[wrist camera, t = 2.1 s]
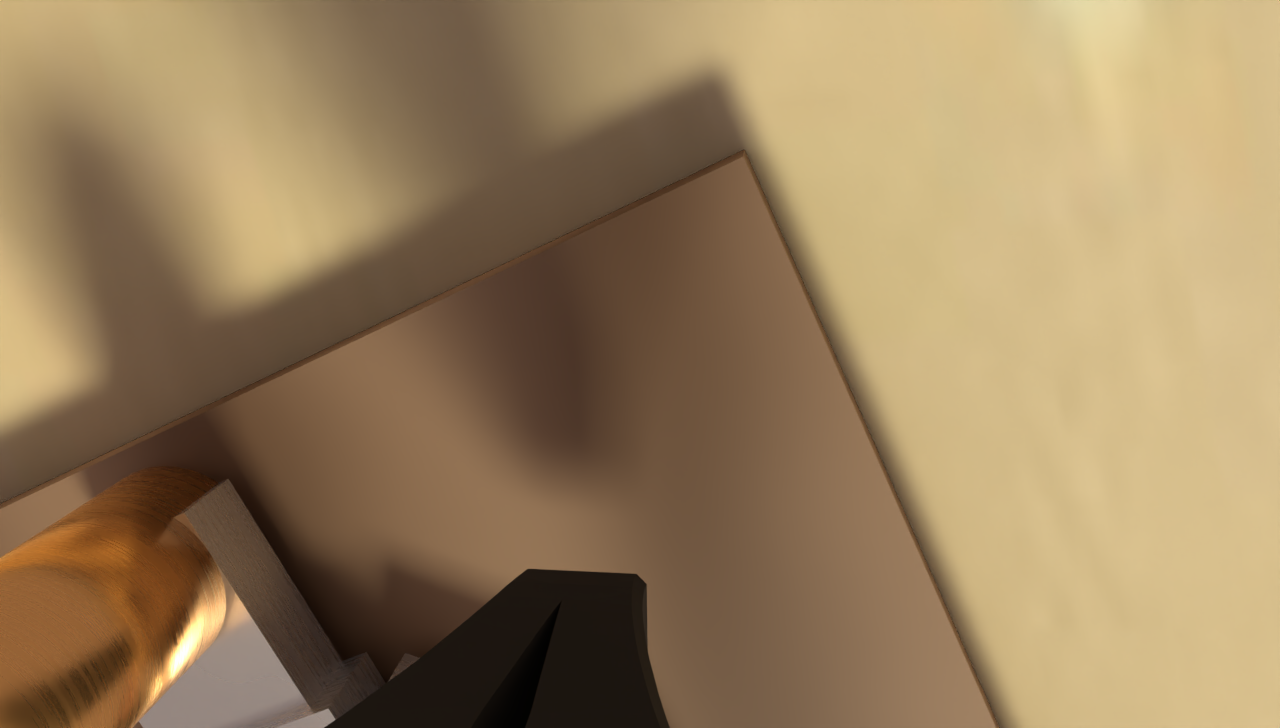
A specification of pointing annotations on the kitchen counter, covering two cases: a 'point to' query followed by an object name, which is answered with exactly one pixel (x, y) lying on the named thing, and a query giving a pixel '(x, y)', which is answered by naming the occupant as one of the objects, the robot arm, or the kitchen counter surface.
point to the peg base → (596, 471)
